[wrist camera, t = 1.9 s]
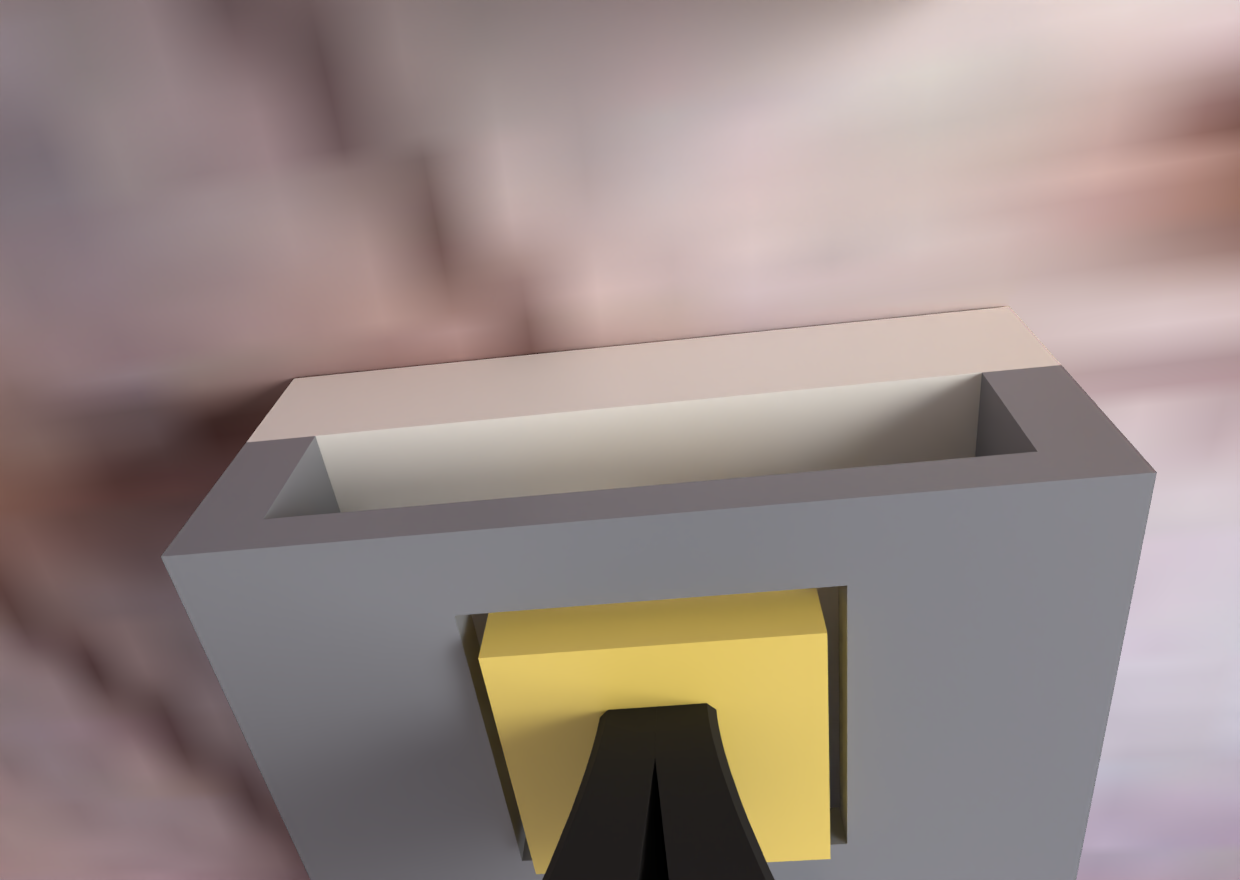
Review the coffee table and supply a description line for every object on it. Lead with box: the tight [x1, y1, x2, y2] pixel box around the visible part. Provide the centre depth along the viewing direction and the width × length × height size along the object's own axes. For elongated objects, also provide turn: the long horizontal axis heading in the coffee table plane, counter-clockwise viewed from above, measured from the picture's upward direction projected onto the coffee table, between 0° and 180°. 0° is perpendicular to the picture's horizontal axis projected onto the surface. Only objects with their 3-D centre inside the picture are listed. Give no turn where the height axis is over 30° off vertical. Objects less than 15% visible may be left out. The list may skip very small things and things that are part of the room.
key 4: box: [478, 588, 831, 874], centre depth 12 cm, size 4×4×2 cm
